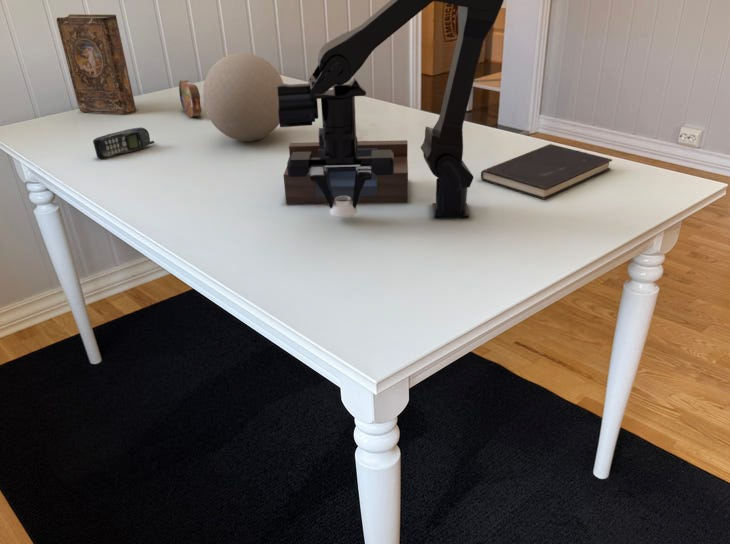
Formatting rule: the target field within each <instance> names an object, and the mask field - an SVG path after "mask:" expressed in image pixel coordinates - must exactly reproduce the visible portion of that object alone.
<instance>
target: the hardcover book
mask: <svg viewBox="0 0 730 544" xmlns="http://www.w3.org/2000/svg"><path fill="white" fill-rule="evenodd" d="M612 161H613V159H612V158H608V157H604V156H600V155H596V154H592V153H588V152H584V151H580V150H575V149H572V148H569V147H568V148H567V147H565V146H564V147H563V146H560V145H555V144H552V143H549V144H546V145H544V146H541V147H539V148H536V149H534V150H531V151H528V152H526V153H523V154H521V155H518V156H516V157H513V158H510V159H507V160H505V161H503V162H500V163H498V164H495V165H492V166H490V167H487V168H485V169H483V170H481V172H480V179H481V180H482V182H485V183H488V184H492V185H494V186H499V187H502V188H504V189H508V190H511V191H515V192H518V193H520V194H524V195H527V196H531V197H533V198H537V199H540V200H543V201H545V200H548V199H550V198H551V197H554V196H557V195H559V194H561V193H563V192H565V191H567V190H569V189H572V188H573V187H576V186H578V185H580V184H583V183H585V182H588V181H590V180H591V179H593V178H596V177H598V176H600V175H602V174H605V173H606V172H609V171H611V168H610V162H612Z"/></svg>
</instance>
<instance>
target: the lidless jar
mask: <svg viewBox="0 0 730 544" xmlns="http://www.w3.org/2000/svg"><path fill="white" fill-rule="evenodd" d="M357 208H358V207H356V209H355V208H354V207H353V201H352V200H351V197H349V196H338V197H336V198H335V200H334V202H333V207H332V208H330V207H329V214H330V215H331V216H333V217H335V218H341V219H343V218H345V219H346V218H350V217H352V216H354V215H356V214H357V213H358V209H357Z"/></svg>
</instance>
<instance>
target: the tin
mask: <svg viewBox="0 0 730 544" xmlns="http://www.w3.org/2000/svg"><path fill="white" fill-rule="evenodd" d="M178 84H179V85H178V91H179V92H178V93H179V99H180V103H181V104H180V105H181V108H182V110H183V112H184V113H185V114H187V116H188V117H190V118H195V117H200V116H201V115H202V107H201V95H200V94H201V93H200V91H199V87H197V85H196V84H194V83H193V82H192V81H191V80H180V81H179V83H178Z"/></svg>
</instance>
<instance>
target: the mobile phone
mask: <svg viewBox="0 0 730 544" xmlns="http://www.w3.org/2000/svg"><path fill="white" fill-rule="evenodd" d="M92 143H93V148H94V150H95V155H96V157H97V159H99V160H100V159H107V158H112V157H116V156H120V155H123V154H129V153H133V152H137V151H139V150H142V149H144V148H146V147H148V146H150V145H153V144H155V141H154V140H151V138H150V132H149V131H148V130H147V128H145V127H133V128H129V129H124V130H120V131H116V132H112V133H108V134H104V135H102V136H98V137H96V138H94V139H93V141H92Z"/></svg>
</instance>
